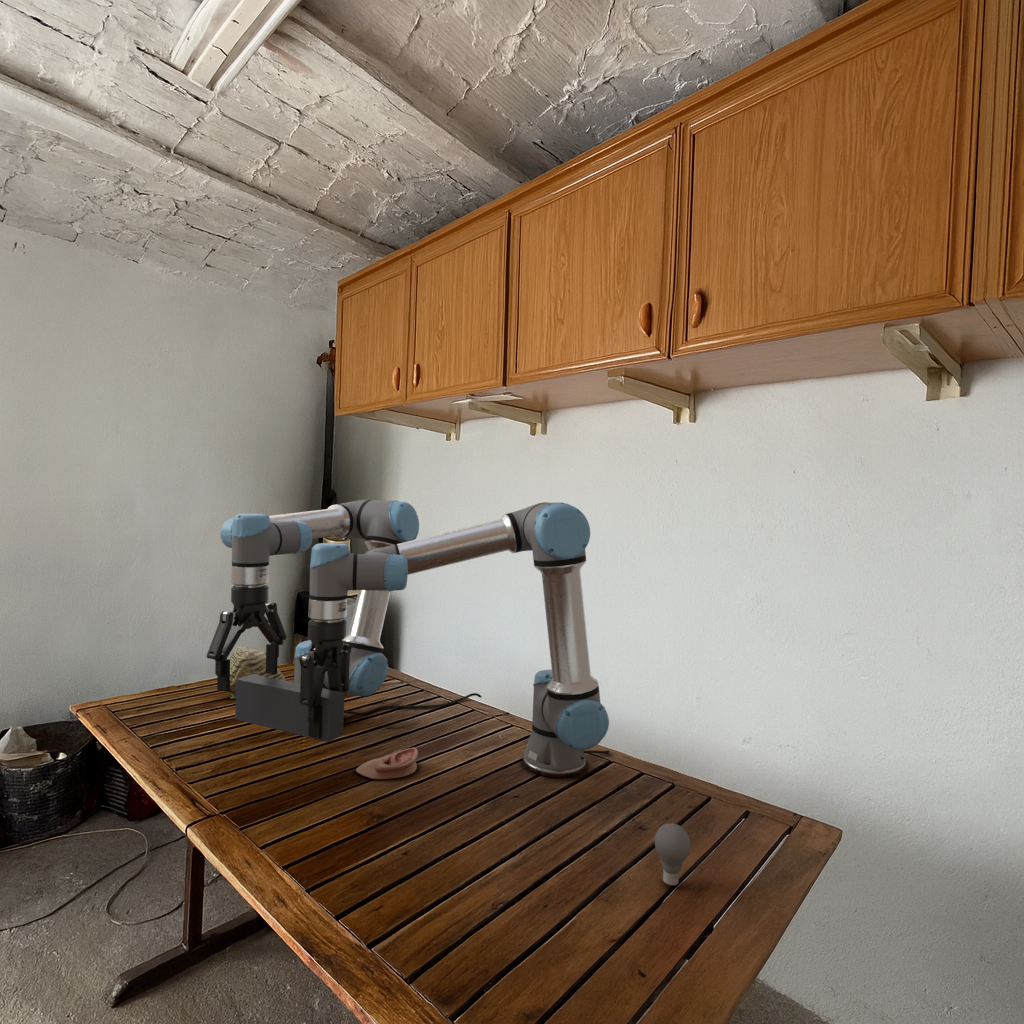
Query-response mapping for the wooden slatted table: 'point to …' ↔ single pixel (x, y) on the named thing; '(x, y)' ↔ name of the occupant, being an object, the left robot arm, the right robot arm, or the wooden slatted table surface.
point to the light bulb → (672, 850)
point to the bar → (286, 707)
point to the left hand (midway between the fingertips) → (248, 681)
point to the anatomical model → (390, 765)
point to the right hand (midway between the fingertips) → (323, 732)
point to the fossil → (248, 666)
